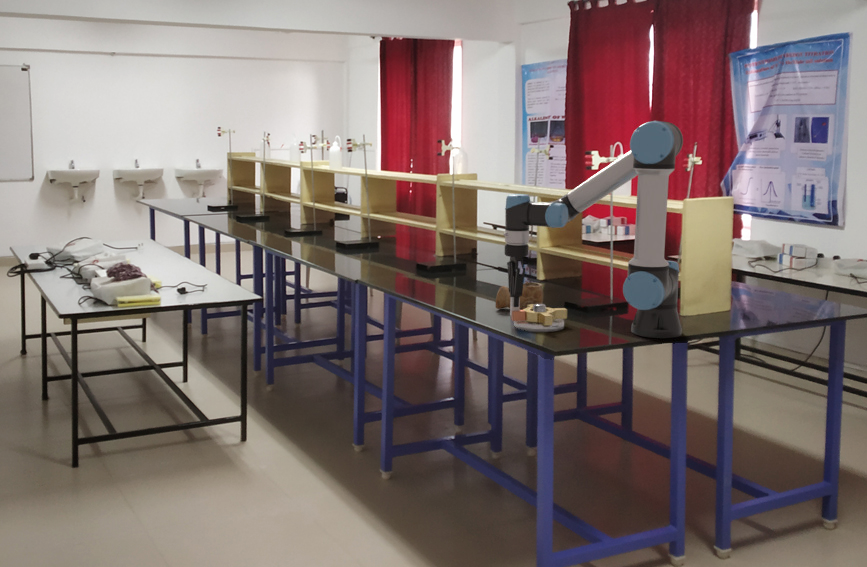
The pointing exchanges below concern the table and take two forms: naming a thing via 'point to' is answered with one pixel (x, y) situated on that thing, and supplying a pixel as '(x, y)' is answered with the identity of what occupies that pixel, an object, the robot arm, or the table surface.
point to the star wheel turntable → (539, 327)
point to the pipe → (529, 296)
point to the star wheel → (539, 315)
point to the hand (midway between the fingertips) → (514, 316)
